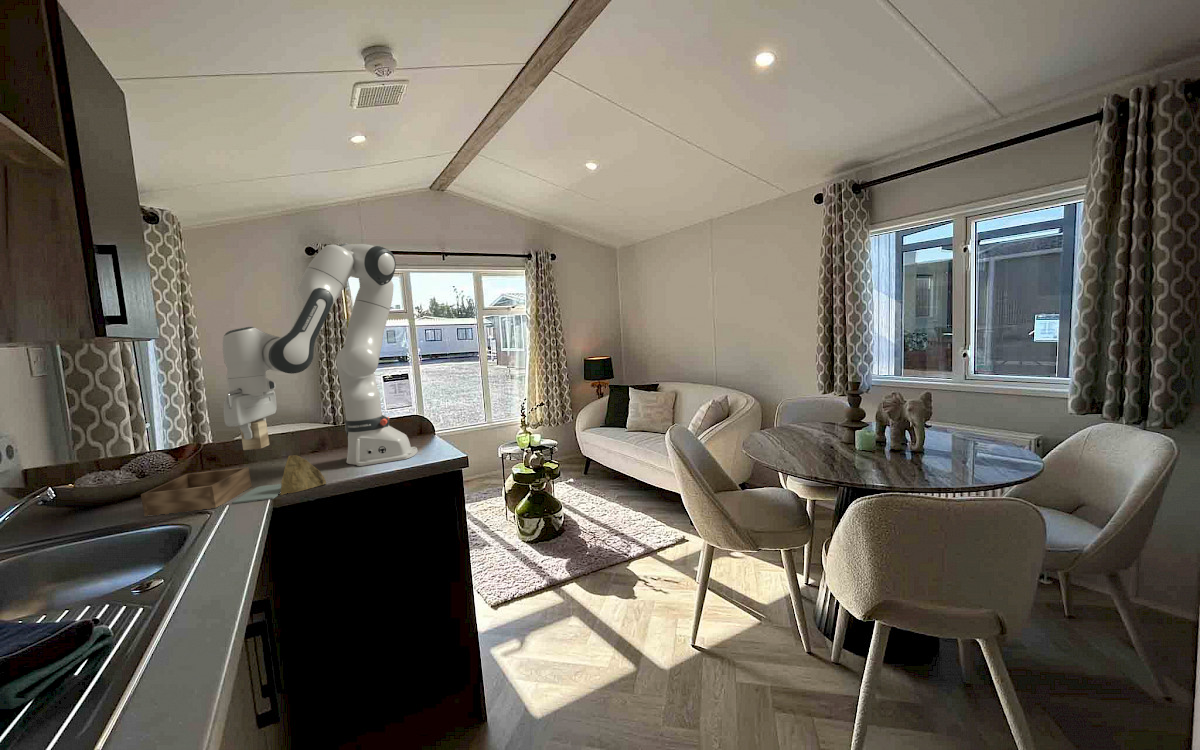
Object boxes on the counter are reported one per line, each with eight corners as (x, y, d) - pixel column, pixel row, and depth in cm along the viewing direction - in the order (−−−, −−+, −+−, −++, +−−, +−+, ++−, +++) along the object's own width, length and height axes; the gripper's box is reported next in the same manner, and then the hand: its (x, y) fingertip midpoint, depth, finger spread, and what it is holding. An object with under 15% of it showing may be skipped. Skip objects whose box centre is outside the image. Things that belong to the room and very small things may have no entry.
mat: (294, 484, 147) (294, 482, 147) (272, 499, 135) (272, 497, 135) (257, 488, 146) (257, 486, 146) (232, 503, 133) (231, 502, 133)
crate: (251, 486, 148) (248, 467, 147) (215, 508, 131) (212, 486, 130) (189, 494, 146) (186, 474, 145) (144, 516, 128) (140, 494, 128)
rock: (334, 472, 148) (299, 470, 148) (325, 454, 143) (289, 452, 142) (318, 504, 141) (282, 502, 140) (308, 486, 135) (270, 485, 134)
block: (269, 444, 141) (266, 420, 140) (261, 448, 137) (257, 423, 136) (252, 446, 141) (248, 421, 140) (243, 450, 136) (239, 424, 135)
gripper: (239, 390, 127) (247, 443, 129) (278, 382, 147) (284, 428, 149) (212, 392, 126) (220, 446, 128) (254, 383, 146) (261, 430, 148)
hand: (255, 436), depth 138 cm, fingers closed on block, 4 cm apart
